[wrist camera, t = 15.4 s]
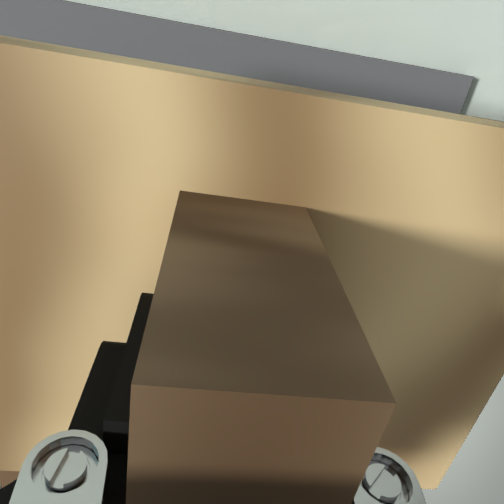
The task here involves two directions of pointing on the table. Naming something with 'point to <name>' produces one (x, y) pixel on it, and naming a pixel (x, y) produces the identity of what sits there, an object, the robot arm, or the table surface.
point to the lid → (245, 273)
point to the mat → (231, 53)
